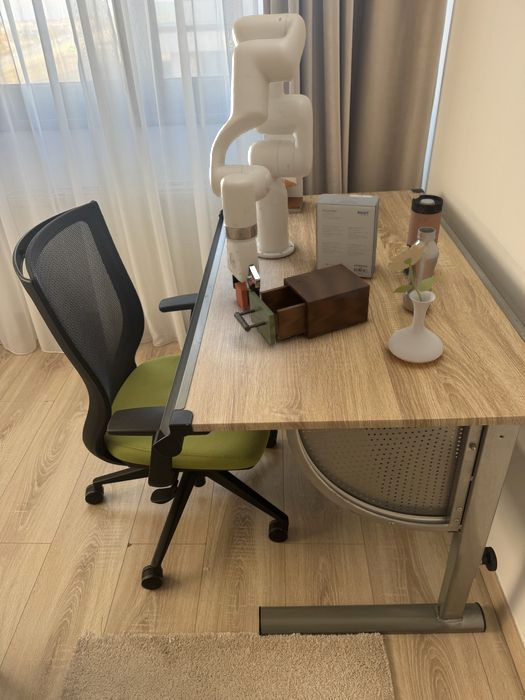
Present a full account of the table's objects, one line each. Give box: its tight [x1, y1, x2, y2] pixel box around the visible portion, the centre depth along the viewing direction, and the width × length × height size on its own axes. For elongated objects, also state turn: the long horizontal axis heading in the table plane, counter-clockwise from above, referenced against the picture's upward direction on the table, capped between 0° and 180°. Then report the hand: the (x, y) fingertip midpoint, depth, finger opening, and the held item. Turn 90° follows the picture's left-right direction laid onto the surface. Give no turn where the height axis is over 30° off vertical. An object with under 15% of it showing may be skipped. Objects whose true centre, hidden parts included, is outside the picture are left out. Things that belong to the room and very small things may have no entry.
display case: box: [263, 134, 304, 213], centre depth 174 cm, size 11×11×35 cm
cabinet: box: [283, 264, 371, 340], centre depth 120 cm, size 16×13×10 cm
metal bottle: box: [402, 227, 440, 313], centre depth 118 cm, size 6×7×20 cm
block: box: [234, 281, 253, 311], centre depth 128 cm, size 4×4×6 cm
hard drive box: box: [315, 193, 381, 278], centre depth 136 cm, size 16×8×20 cm, turn 71°
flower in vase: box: [386, 243, 444, 364], centre depth 102 cm, size 13×11×25 cm
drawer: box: [233, 284, 307, 346], centre depth 116 cm, size 19×11×8 cm, turn 113°
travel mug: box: [404, 194, 444, 276], centre depth 132 cm, size 8×8×20 cm
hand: (246, 295), depth 128 cm, fingers open, 9 cm apart
